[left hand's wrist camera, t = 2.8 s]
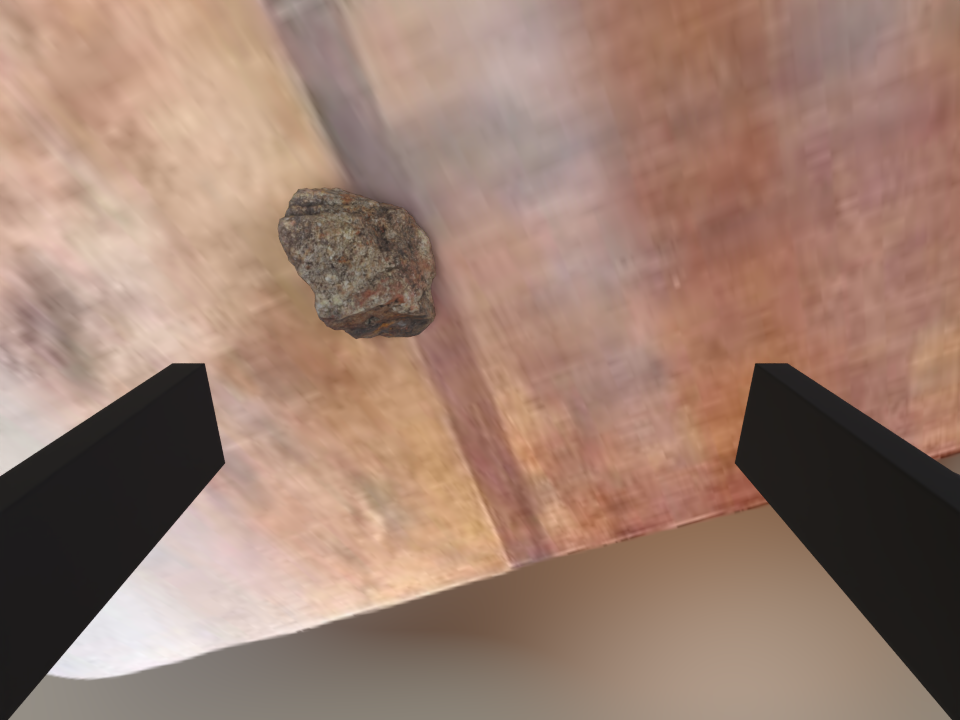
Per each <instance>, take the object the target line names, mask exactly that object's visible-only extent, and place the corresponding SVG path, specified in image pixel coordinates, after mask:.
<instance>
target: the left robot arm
mask: <svg viewBox="0 0 960 720" xmlns="http://www.w3.org/2000/svg"><path fill="white" fill-rule="evenodd" d="M224 464H225V460H224V455H223V450H222V445H221V441H220V436H219V431H218V426H217V421H216V416H215V411H214V406H213V402H212V397H211V392H210V387H209V382H208V377H207V372H206V367H205V363H172V364H171V365H169V366H168V367H166V368H165V369H163V370H162V371H160V372H159V373H157V374H156V375H154V376H153V377H151V378H150V379H148V380H146V381H145V382H143V383H142V384H140V385H139V386H137V387H136V388H134V389H133V390H131V391H130V392H128V393H127V394H125V395H124V396H122V397H121V398H119V399H117V400H116V401H114V402H113V403H111V404H110V405H108V406H107V407H105V408H104V409H102V410H101V411H99V412H98V413H96V414H95V415H93V416H92V417H90V418H88V419H87V420H85V421H84V422H82V423H81V424H79V425H78V426H76V427H75V428H73V429H72V430H70V431H69V432H67V433H66V434H64V435H63V436H61V437H59V438H58V439H56V440H55V441H53V442H52V443H50V444H49V445H47V446H46V447H44V448H43V449H41V450H40V451H38V452H37V453H35V454H34V455H32V456H30V457H29V458H27V459H26V460H24V461H23V462H21V463H20V464H18V465H17V466H15V467H14V468H12V469H11V470H9V471H8V472H6V473H5V474H3V475H1V476H0V720H8V719H9V718H10V717H11V716H12V714H13V713H14V712H15V711H16V710H17V708H18V707H19V706H20V705H21V704H22V703H23V701H24V700H25V699H26V698H27V697H28V695H29V694H30V693H31V692H32V691H33V690H34V688H35V687H36V686H37V685H38V684H39V682H40V681H41V680H42V679H43V678H44V677H45V675H46V674H47V673H48V672H49V671H50V669H51V668H52V667H53V666H54V665H55V664H56V662H57V661H58V660H59V659H60V658H61V656H62V655H63V654H64V653H65V652H66V651H67V649H68V648H69V647H70V646H71V645H72V643H73V642H74V641H75V640H76V639H77V638H78V636H79V635H80V634H81V633H82V632H83V630H84V629H85V628H86V627H87V626H88V625H89V623H90V622H91V621H92V620H93V619H94V617H95V616H96V615H97V614H98V613H99V612H100V610H101V609H102V608H103V607H104V606H105V604H106V603H107V602H108V601H109V600H110V599H111V597H112V596H113V595H114V594H115V593H116V591H117V590H118V589H119V588H120V587H121V586H122V584H123V583H124V582H125V581H126V580H127V578H128V577H129V576H130V575H131V574H132V573H133V571H134V570H135V569H136V568H137V567H138V566H139V564H140V563H141V562H142V561H143V560H144V558H145V557H146V556H147V555H148V554H149V553H150V551H151V550H152V549H153V548H154V547H155V545H156V544H157V543H158V542H159V541H160V540H161V538H162V537H163V536H164V535H165V534H166V532H167V531H168V530H169V529H170V528H171V527H172V525H173V524H174V523H175V522H176V521H177V519H178V518H179V517H180V516H181V515H182V514H183V512H184V511H185V510H186V509H187V508H188V506H189V505H190V504H191V503H192V502H193V501H194V499H195V498H196V497H197V496H198V495H199V493H200V492H201V491H202V490H203V489H204V488H205V486H206V485H207V484H208V483H209V482H210V480H211V479H212V478H213V477H214V476H215V475H216V473H217V472H218V471H219V470H220V469H221V467H222V466H223V465H224ZM735 464H736V465H737V466H738V467H739V469H740V470H741V471H742V472H743V473H744V475H745V476H746V477H747V478H748V479H749V480H750V482H751V483H752V484H753V485H754V486H755V488H756V489H757V490H758V491H759V492H760V493H761V495H762V496H763V497H764V498H765V499H766V501H767V502H768V503H769V504H770V505H771V506H772V508H773V509H774V510H775V511H776V512H777V514H778V515H779V516H780V517H781V518H782V519H783V521H784V522H785V523H786V524H787V525H788V527H789V528H790V529H791V530H792V531H793V532H794V534H795V535H796V536H797V537H798V538H799V540H800V541H801V542H802V543H803V544H804V545H805V547H806V548H807V549H808V550H809V551H810V552H811V554H812V555H813V556H814V557H815V558H816V560H817V561H818V562H819V563H820V564H821V565H822V567H823V568H824V569H825V570H826V571H827V573H828V574H829V575H830V576H831V577H832V578H833V580H834V581H835V582H836V583H837V584H838V586H839V587H840V588H841V589H842V590H843V591H844V593H845V594H846V595H847V596H848V597H849V599H850V600H851V601H852V602H853V603H854V604H855V606H856V607H857V608H858V609H859V610H860V611H861V613H862V614H863V615H864V616H865V617H866V619H867V620H868V621H869V622H870V623H871V624H872V626H873V627H874V628H875V629H876V630H877V632H878V633H879V634H880V635H881V636H882V638H883V639H884V640H885V641H886V642H887V643H888V645H889V646H890V647H891V648H892V649H893V651H894V652H895V653H896V654H897V655H898V656H899V658H900V659H901V660H902V661H903V662H904V664H905V665H906V666H907V667H908V668H909V669H910V671H911V672H912V673H913V674H914V675H915V676H916V678H917V679H918V680H919V681H920V682H921V684H922V685H923V686H924V687H925V688H926V690H927V691H928V692H929V693H930V694H931V695H932V697H933V698H934V699H935V700H936V701H937V703H938V704H939V705H940V706H941V707H942V708H943V710H944V711H945V712H946V713H947V714H948V716H949V717H950V718H951V719H952V720H960V475H959V474H957V473H954V472H952V471H951V470H949V469H948V468H946V467H945V466H943V465H942V464H940V463H939V462H937V461H936V460H934V459H933V458H931V457H930V456H928V455H926V454H925V453H923V452H922V451H920V450H919V449H917V448H916V447H914V446H913V445H911V444H910V443H908V442H907V441H905V440H904V439H902V438H901V437H899V436H897V435H896V434H894V433H893V432H891V431H890V430H888V429H887V428H885V427H884V426H882V425H881V424H879V423H878V422H876V421H875V420H873V419H872V418H870V417H868V416H867V415H865V414H864V413H862V412H861V411H859V410H858V409H856V408H855V407H853V406H852V405H850V404H849V403H847V402H846V401H844V400H843V399H841V398H839V397H838V396H836V395H835V394H833V393H832V392H830V391H829V390H827V389H826V388H824V387H823V386H821V385H820V384H818V383H817V382H815V381H814V380H812V379H810V378H809V377H807V376H806V375H804V374H803V373H801V372H800V371H798V370H797V369H795V368H794V367H792V366H791V365H789V364H788V363H755V367H754V372H753V377H752V382H751V387H750V392H749V397H748V402H747V406H746V411H745V416H744V421H743V426H742V431H741V436H740V441H739V445H738V450H737V455H736V460H735Z"/></svg>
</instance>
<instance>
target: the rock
mask: <svg viewBox="0 0 960 720" xmlns="http://www.w3.org/2000/svg"><path fill="white" fill-rule="evenodd" d="M278 232H279V239H280V242H281V244H282V246H283V248H284V250H285V252H286V254H287V256H288V260H289V261H290V262H291V263H292V264H293V265H294V266H295V268H296V270H297V273H298V275H299V276H300V277H301V278H302V279H303V280H304V281H305V282H306V283H307V284H309V285H310V286H311V288H312V290H313V292H314V293H315V308H316V311H317V313H318V316H319V318H320V320H322V321H323V322H324V323H325V324H326V326H327V327H330V328H332V329H334V330H345V332H347V333H349V334H350V335H351V336H352V337H354V338H355V339H358V338H372V337H375V336H378V335H381V336H385V337H411V336H415V335H418V334H420V333H421V332H422V331H423V330H424V329H425V328H427V326H428V325H429V324H430V323H432V322H433V320H434V317H435V312H434V304H433V300H432V296H431V289H430V286H431V284H432V279H433V278H434V277H435V275H436V273H435V262H434V256H433V254H432V250H431V244H430V241H429V238H428V237H427V236H426V233H425V232H424V231H423V230H422V229H421V228H420V227H419V226H418V225H417V224H416V222H415V220H414V218H413V217H412V216H411V215H409V214H408V212H407V211H406V210H404V209H403V208H399V207H398V206H394V205H392V204H385V203H378V202H376V201H374V200H371V199H369V198H366V197H363V196H361V195H355V194H351V193H349V192H347V191H344V190H341V189H339V188H334V189H329V188H322V189H308V188H305V189H298V191H297V192H296V193H295V194H294V195H293V197H292V199H291V200H290V202H289V208H288V209H287V211H286V214H285V217H283V218H281V219H280V220H279V225H278Z"/></svg>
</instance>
